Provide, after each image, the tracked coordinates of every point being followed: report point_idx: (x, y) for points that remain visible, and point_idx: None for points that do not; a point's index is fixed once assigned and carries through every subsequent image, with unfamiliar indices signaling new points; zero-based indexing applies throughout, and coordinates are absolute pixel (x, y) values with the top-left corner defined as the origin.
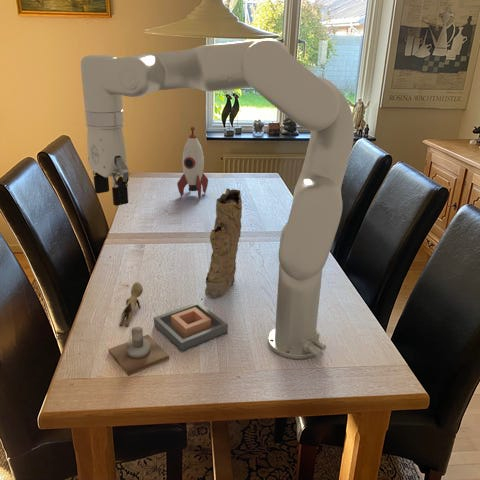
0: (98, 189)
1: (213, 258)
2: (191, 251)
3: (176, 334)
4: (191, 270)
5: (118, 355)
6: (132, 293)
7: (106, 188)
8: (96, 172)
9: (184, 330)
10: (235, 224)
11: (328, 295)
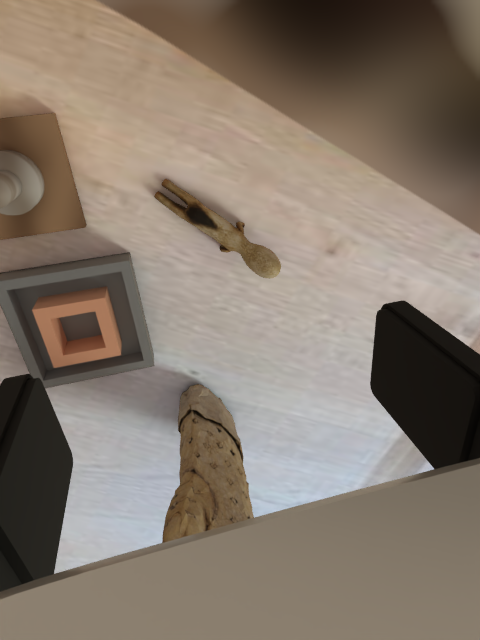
0: (393, 335)
1: (187, 465)
2: (383, 409)
3: (32, 284)
4: (313, 387)
5: (13, 128)
6: (250, 247)
7: (385, 390)
8: (316, 506)
9: (41, 305)
10: None
11: (104, 550)
